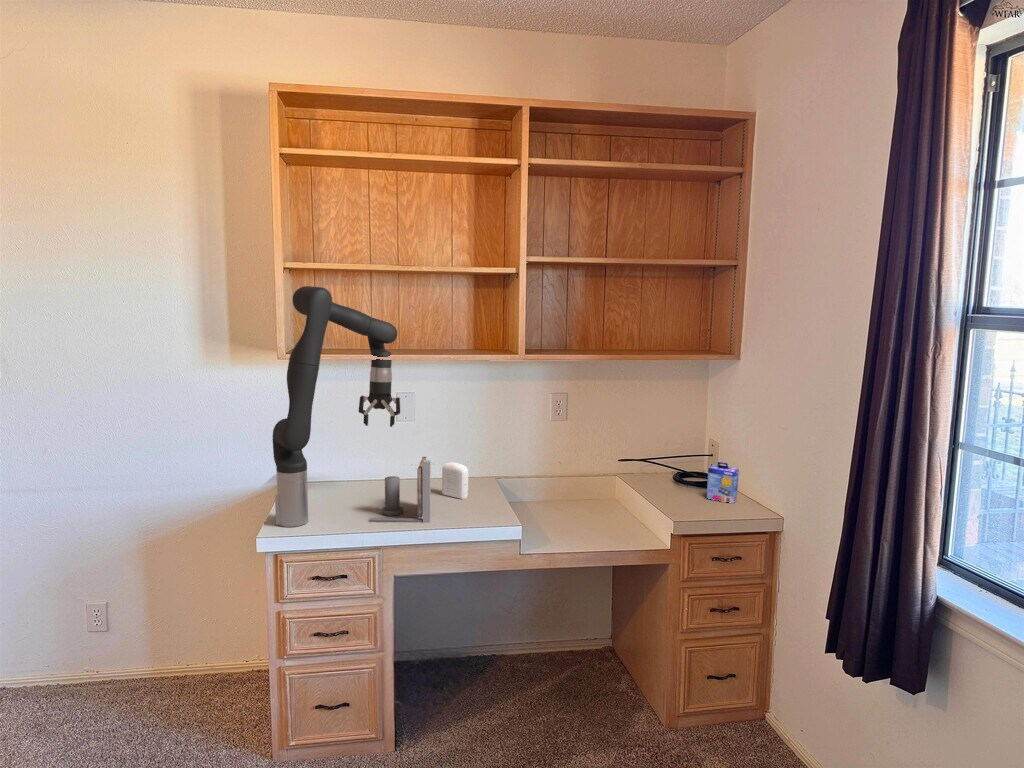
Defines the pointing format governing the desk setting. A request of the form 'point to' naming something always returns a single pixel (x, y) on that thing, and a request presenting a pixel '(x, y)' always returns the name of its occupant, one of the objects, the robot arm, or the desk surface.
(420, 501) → the door
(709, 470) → the ink cartridge box
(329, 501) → the desk surface
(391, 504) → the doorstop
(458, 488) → the photo printer
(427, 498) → the wall frame
